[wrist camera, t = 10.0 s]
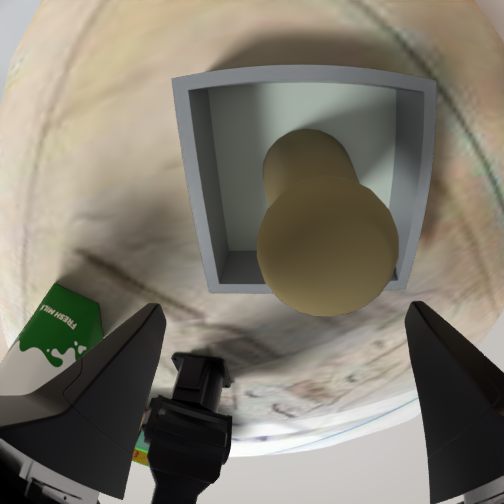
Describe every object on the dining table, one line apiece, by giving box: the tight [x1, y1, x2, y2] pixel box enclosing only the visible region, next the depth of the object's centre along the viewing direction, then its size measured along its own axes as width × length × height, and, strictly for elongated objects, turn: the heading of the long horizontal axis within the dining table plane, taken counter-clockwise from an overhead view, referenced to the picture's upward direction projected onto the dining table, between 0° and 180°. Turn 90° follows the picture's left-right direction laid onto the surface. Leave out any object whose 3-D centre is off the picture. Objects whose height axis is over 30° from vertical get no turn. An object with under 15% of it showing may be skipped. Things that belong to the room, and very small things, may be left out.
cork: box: [257, 129, 399, 317], centre depth 13 cm, size 6×6×11 cm
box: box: [172, 65, 437, 294], centre depth 16 cm, size 14×14×4 cm
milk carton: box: [0, 283, 103, 395], centre depth 21 cm, size 9×9×20 cm
